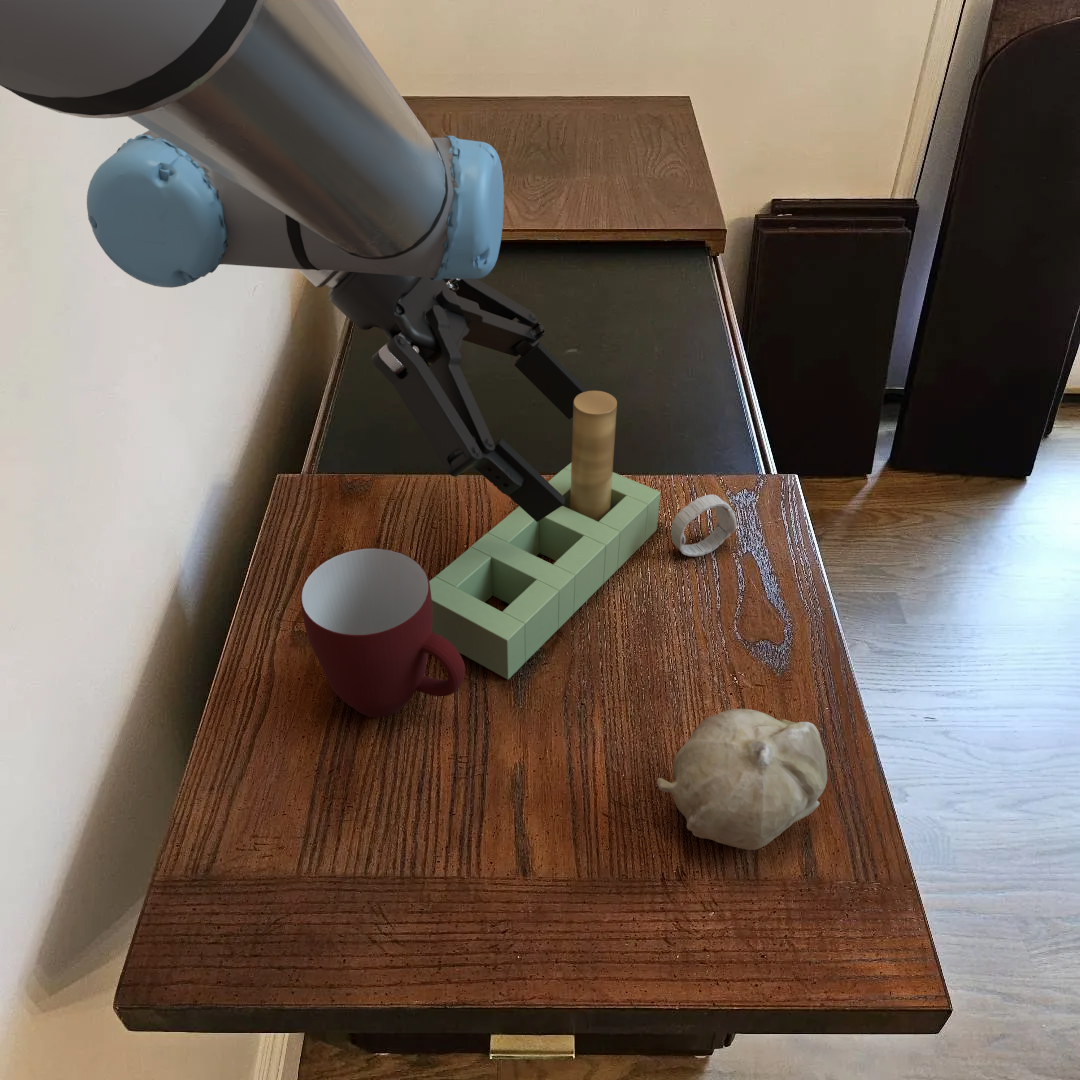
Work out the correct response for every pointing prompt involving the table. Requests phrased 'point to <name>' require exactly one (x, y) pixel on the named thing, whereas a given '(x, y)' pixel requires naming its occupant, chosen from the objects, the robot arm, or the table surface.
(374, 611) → the mug
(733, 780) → the garlic bulb
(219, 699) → the table surface
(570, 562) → the peg block
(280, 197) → the robot arm
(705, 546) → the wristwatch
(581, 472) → the peg
